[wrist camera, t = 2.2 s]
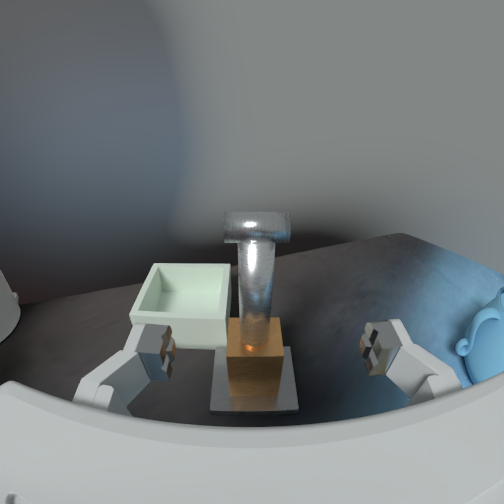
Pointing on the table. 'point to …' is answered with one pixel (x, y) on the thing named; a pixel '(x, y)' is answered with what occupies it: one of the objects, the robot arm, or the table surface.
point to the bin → (187, 303)
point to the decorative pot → (485, 341)
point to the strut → (255, 303)
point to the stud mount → (252, 404)
